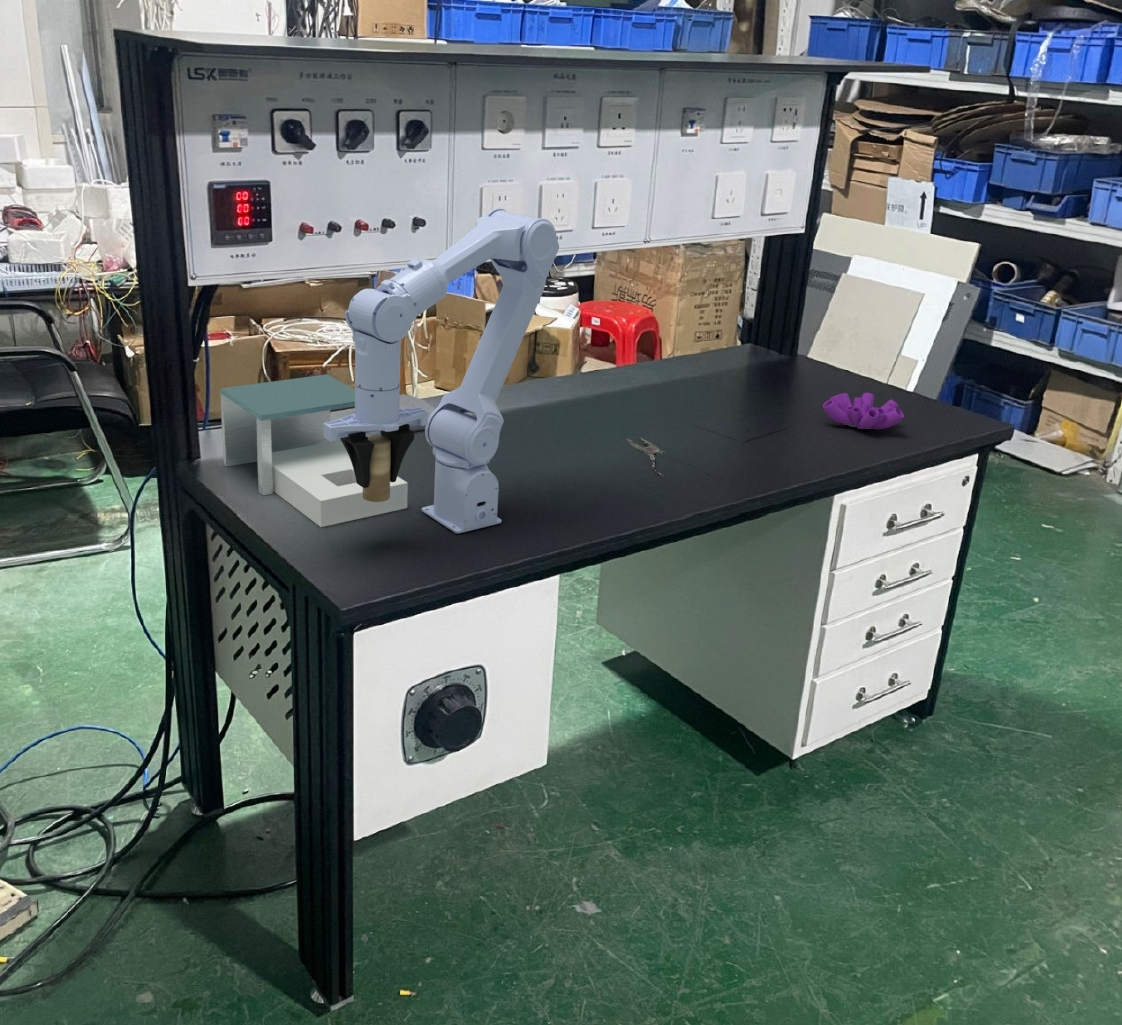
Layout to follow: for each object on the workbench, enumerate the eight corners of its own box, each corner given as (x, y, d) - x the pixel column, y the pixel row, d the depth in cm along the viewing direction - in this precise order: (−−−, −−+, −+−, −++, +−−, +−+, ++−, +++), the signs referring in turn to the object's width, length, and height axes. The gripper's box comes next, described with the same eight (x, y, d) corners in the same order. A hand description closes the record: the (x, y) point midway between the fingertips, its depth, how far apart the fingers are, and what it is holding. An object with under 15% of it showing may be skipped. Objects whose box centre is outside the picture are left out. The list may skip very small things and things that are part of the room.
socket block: (407, 508, 163) (407, 482, 161) (320, 527, 154) (320, 500, 153) (340, 464, 176) (340, 440, 175) (258, 479, 168) (257, 454, 166)
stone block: (441, 434, 199) (403, 410, 203) (446, 411, 196) (407, 387, 201) (393, 451, 190) (354, 425, 195) (397, 427, 188) (357, 401, 192)
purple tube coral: (829, 432, 222) (849, 390, 223) (898, 453, 213) (919, 410, 214) (812, 408, 213) (833, 365, 214) (883, 429, 204) (905, 384, 205)
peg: (394, 498, 148) (396, 442, 145) (371, 503, 146) (371, 447, 143) (381, 489, 151) (381, 434, 147) (357, 494, 148) (358, 438, 145)
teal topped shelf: (370, 474, 173) (371, 398, 169) (263, 495, 163) (260, 415, 158) (327, 446, 183) (327, 374, 178) (223, 464, 172) (220, 388, 167)
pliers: (676, 482, 179) (597, 444, 193) (675, 487, 180) (597, 448, 194) (718, 472, 185) (638, 435, 199) (717, 477, 185) (638, 440, 199)
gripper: (342, 400, 135) (342, 503, 140) (442, 386, 144) (438, 482, 149) (315, 385, 140) (316, 484, 145) (413, 371, 149) (410, 465, 154)
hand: (376, 482), depth 147 cm, fingers closed on peg, 4 cm apart
